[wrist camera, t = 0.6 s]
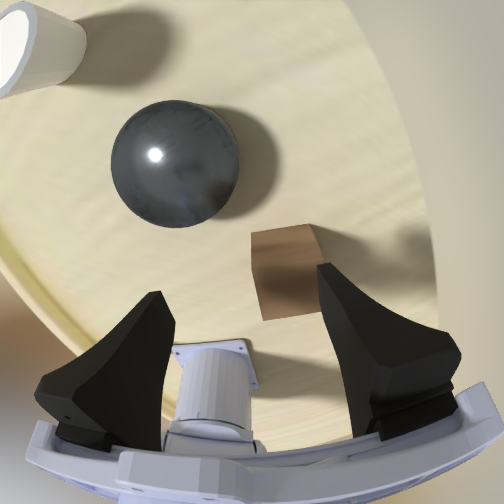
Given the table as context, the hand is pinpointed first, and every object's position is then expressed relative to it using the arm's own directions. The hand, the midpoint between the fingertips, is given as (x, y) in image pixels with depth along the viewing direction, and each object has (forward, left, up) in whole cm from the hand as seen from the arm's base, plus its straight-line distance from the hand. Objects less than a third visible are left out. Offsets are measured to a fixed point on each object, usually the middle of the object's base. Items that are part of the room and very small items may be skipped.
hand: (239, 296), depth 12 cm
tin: (+5, +3, -10) cm, 12 cm away
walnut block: (-4, -3, -10) cm, 11 cm away
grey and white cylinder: (+17, +11, -10) cm, 23 cm away
